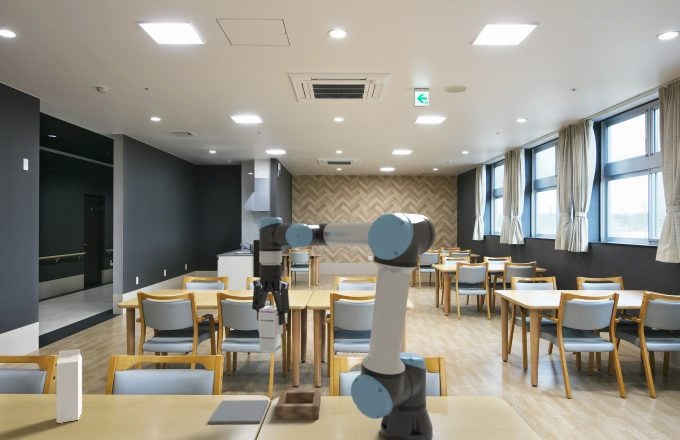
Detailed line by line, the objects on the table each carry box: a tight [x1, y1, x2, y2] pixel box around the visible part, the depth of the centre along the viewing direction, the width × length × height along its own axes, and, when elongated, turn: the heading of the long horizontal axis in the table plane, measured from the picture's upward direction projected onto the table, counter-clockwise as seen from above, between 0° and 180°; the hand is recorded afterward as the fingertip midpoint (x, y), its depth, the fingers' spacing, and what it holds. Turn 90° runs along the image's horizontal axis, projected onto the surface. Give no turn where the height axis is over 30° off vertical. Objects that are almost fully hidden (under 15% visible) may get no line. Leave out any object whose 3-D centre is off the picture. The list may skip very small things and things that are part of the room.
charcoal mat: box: [208, 399, 269, 425], centre depth 143 cm, size 16×16×1 cm
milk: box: [55, 348, 83, 422], centre depth 140 cm, size 6×6×22 cm
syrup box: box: [258, 305, 283, 355], centre depth 145 cm, size 6×6×14 cm
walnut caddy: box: [275, 389, 322, 420], centre depth 145 cm, size 14×14×4 cm
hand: (270, 332), depth 145 cm, fingers closed on syrup box, 7 cm apart
